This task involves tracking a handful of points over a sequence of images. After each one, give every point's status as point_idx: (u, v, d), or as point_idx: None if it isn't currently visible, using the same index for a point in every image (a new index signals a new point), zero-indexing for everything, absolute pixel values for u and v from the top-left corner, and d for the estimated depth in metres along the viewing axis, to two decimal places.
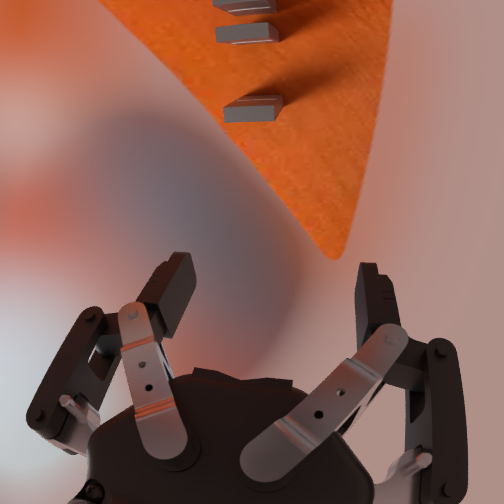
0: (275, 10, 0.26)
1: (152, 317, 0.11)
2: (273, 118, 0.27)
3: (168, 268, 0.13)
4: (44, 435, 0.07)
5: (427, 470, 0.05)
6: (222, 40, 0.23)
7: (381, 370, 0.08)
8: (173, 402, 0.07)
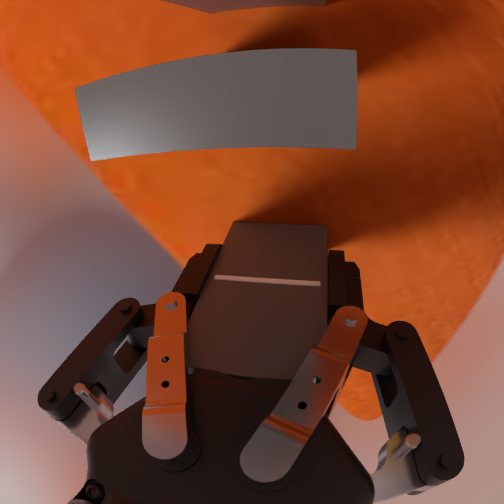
0: None
1: (190, 308, 0.12)
2: None
3: (203, 259, 0.14)
4: (51, 416, 0.08)
5: (418, 449, 0.06)
6: (112, 152, 0.05)
7: (337, 348, 0.09)
8: (184, 404, 0.07)
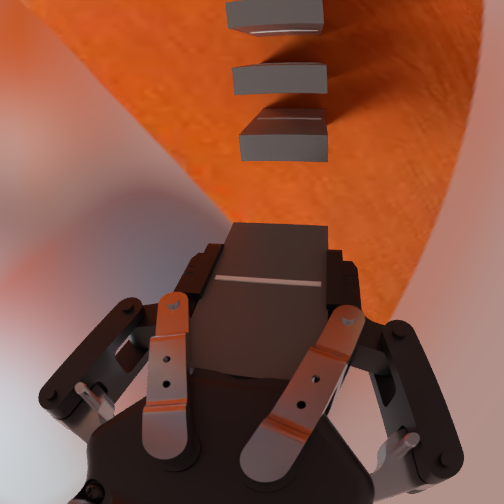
0: None
1: (193, 307, 0.12)
2: None
3: (205, 259, 0.14)
4: (52, 414, 0.08)
5: (418, 448, 0.06)
6: (251, 159, 0.17)
7: (334, 347, 0.09)
8: (185, 405, 0.07)
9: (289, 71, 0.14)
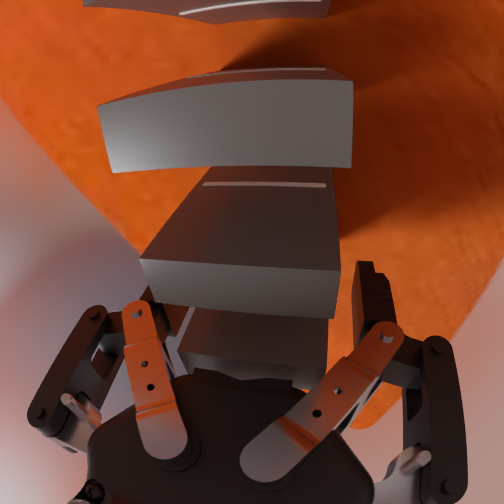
0: None
1: (156, 316, 0.11)
2: None
3: None
4: (44, 433, 0.07)
5: (426, 468, 0.06)
6: (172, 301, 0.08)
7: (376, 367, 0.08)
8: (175, 402, 0.07)
9: (239, 102, 0.05)
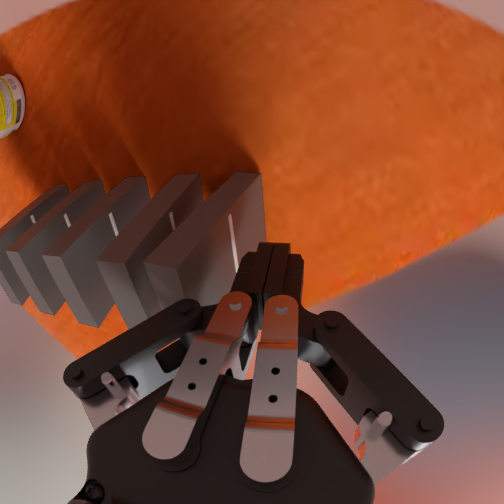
0: (130, 188, 0.18)
1: (255, 308, 0.11)
2: (170, 269, 0.11)
3: (260, 258, 0.13)
4: None
5: (393, 424, 0.07)
6: None
7: (261, 334, 0.10)
8: (199, 414, 0.07)
9: (60, 285, 0.14)
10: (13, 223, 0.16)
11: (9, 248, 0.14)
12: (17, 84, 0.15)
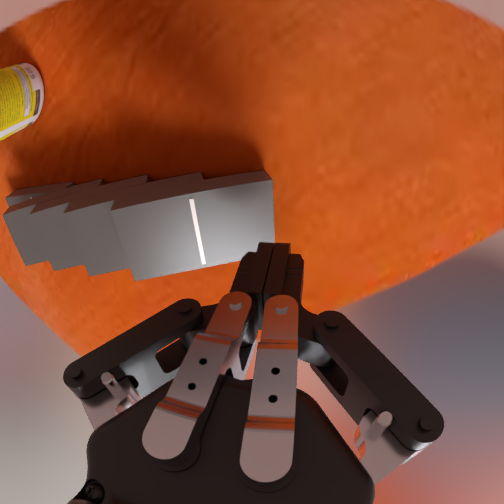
0: (116, 189, 0.18)
1: (255, 308, 0.11)
2: None
3: (260, 258, 0.13)
4: None
5: (393, 424, 0.07)
6: (87, 268, 0.19)
7: (261, 334, 0.10)
8: (198, 414, 0.07)
9: None
10: (24, 192, 0.21)
11: (11, 206, 0.19)
12: (36, 73, 0.15)
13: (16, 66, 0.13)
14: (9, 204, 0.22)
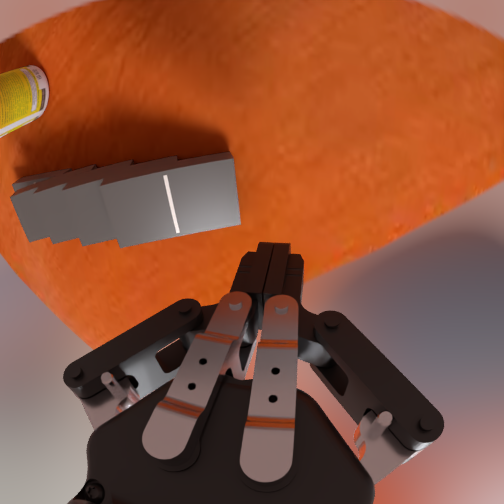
0: (105, 171, 0.21)
1: (255, 308, 0.11)
2: None
3: (260, 258, 0.13)
4: None
5: (393, 423, 0.07)
6: (80, 239, 0.21)
7: (261, 334, 0.10)
8: (199, 414, 0.07)
9: None
10: (29, 179, 0.24)
11: (17, 190, 0.22)
12: (42, 74, 0.18)
13: (24, 68, 0.16)
14: (15, 190, 0.25)
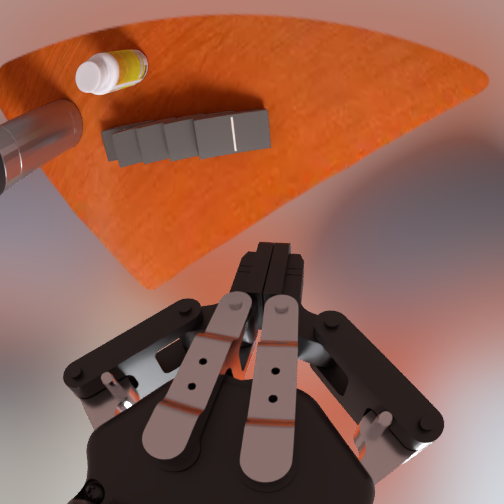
0: None
1: (254, 308, 0.11)
2: None
3: (260, 258, 0.13)
4: None
5: (393, 424, 0.07)
6: None
7: (261, 334, 0.10)
8: (199, 414, 0.07)
9: None
10: (117, 127, 0.39)
11: (114, 132, 0.37)
12: (144, 56, 0.33)
13: (132, 50, 0.31)
14: (103, 136, 0.40)
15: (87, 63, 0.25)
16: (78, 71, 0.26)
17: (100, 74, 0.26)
